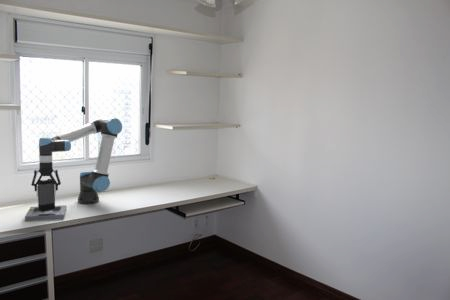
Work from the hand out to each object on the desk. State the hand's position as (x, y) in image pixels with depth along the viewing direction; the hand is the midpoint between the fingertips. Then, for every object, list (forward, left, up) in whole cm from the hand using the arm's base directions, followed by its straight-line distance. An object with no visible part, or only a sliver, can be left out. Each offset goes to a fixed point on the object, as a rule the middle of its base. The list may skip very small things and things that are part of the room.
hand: (46, 195), depth 244 cm
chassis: (0, 0, -13) cm, 13 cm away
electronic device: (0, 0, -10) cm, 10 cm away
